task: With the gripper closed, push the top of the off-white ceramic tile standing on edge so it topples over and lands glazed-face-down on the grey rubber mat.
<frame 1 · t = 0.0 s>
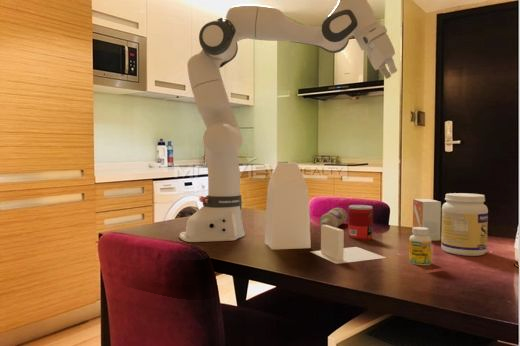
hand: (391, 75, 138), 54 cm above the table, tool tilted 30°, fingers open, 8 cm apart
supplement bottle: (419, 265, 110), on the table
canned food: (360, 239, 142), on the table
small box: (425, 238, 143), on the table
plastic bottle: (282, 222, 176), on the table
supplement tub: (463, 252, 124), on the table
tile: (331, 256, 116), point 1 cm above the table, touching mat
mat: (347, 256, 118), on the table
milk: (286, 247, 131), on the table
decorative bottle: (329, 228, 162), on the table
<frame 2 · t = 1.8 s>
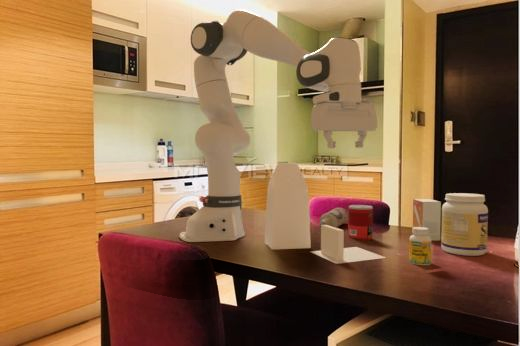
hand: (345, 147, 116), 30 cm above the table, tool pointing down, fingers open, 8 cm apart
nothing on the table moved.
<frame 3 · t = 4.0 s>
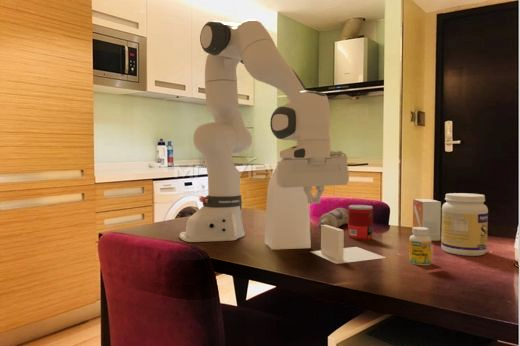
hand: (314, 203, 113), 16 cm above the table, tool pointing down, fingers closed
nothing on the table moved.
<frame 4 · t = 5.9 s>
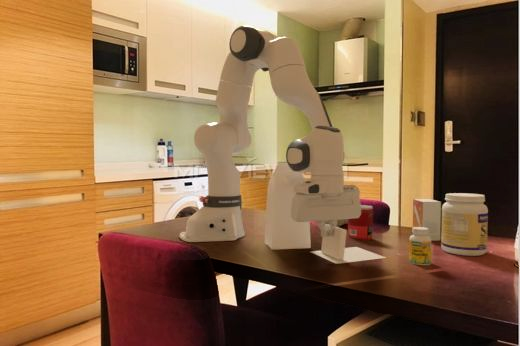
hand: (326, 236, 115), 6 cm above the table, tool pointing down, fingers closed
tile: (331, 255, 116), point 1 cm above the table, tilted 7°, touching gripper, mat
everything else where it was.
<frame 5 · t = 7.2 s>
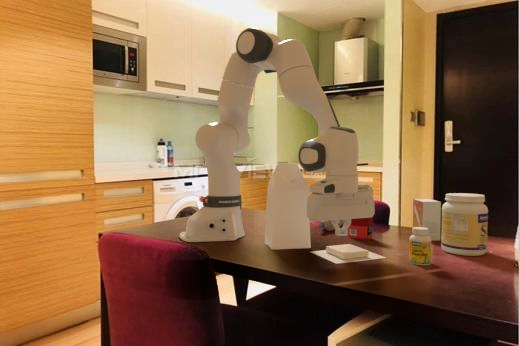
hand: (341, 235, 117), 6 cm above the table, tool pointing down, fingers closed
tile: (334, 252, 116), point 2 cm above the table, tilted 90°, touching mat
everything else where it was.
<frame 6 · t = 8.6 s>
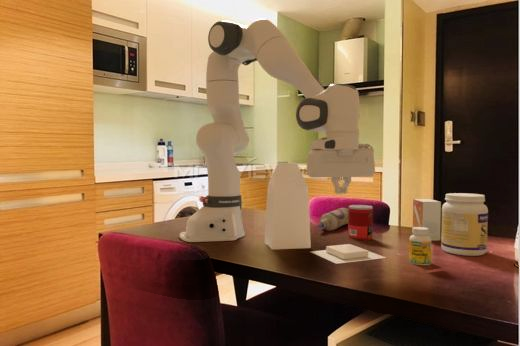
hand: (340, 193, 116), 18 cm above the table, tool pointing down, fingers closed
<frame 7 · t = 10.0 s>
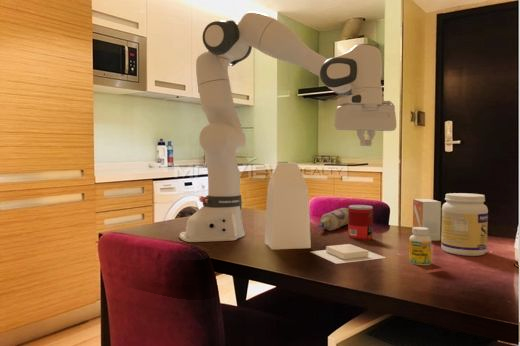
hand: (365, 145, 127), 31 cm above the table, tool pointing down, fingers closed
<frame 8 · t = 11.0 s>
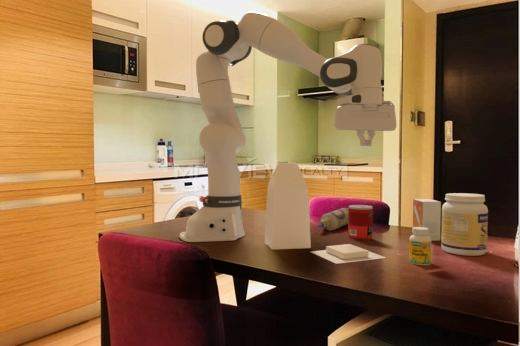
hand: (365, 145, 127), 31 cm above the table, tool pointing down, fingers closed
at the end: tile tilted 90°; tile 4.1 cm from the mat (horizontally); tile point 1.5 cm above the table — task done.
